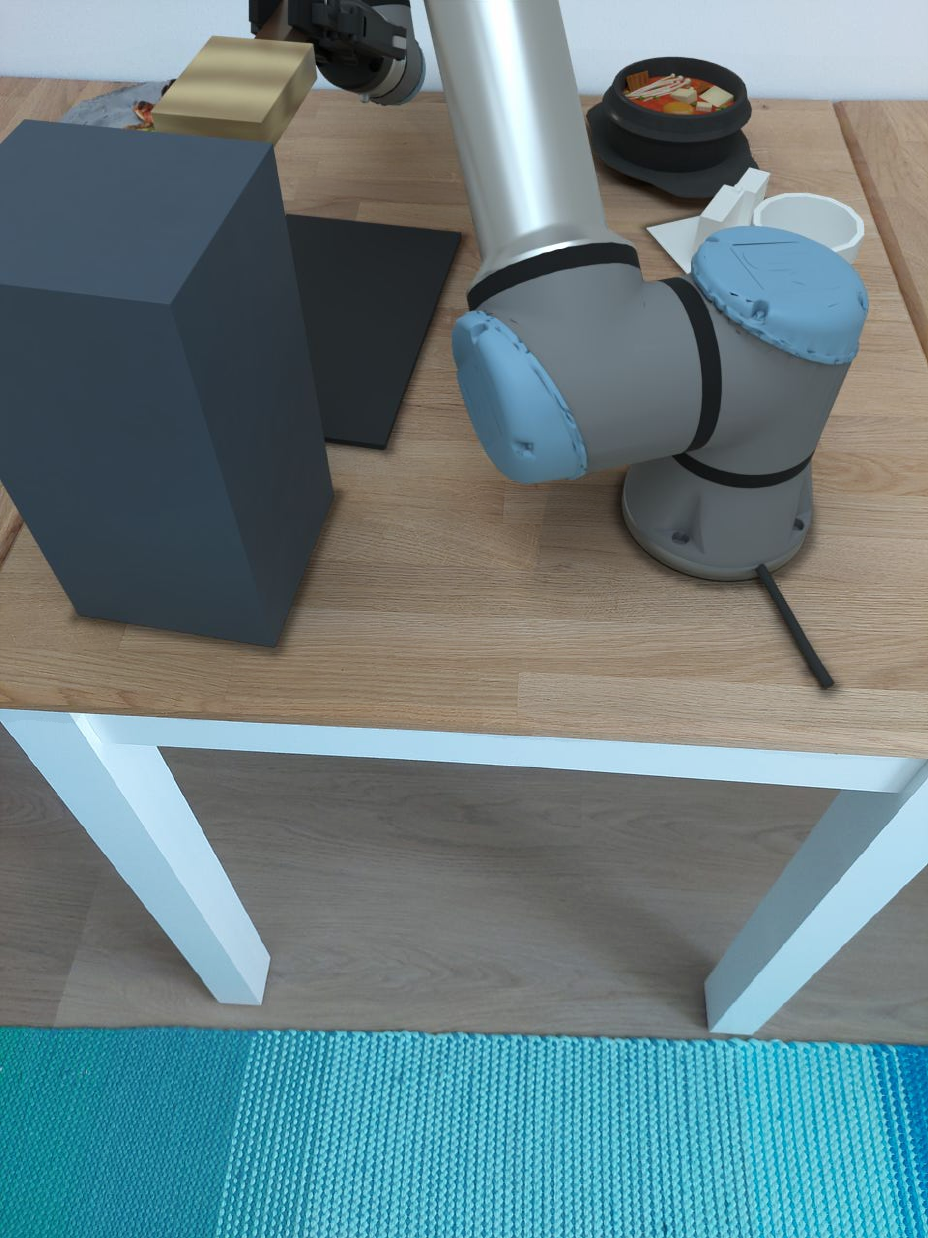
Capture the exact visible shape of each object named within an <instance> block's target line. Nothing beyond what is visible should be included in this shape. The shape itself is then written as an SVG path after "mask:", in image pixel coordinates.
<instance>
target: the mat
mask: <svg viewBox="0 0 928 1238" xmlns="http://www.w3.org/2000/svg"><path fill="white" fill-rule="evenodd" d="M285 216H286V222H287V227H288V233H289V239H290V245H291V250H292V256H293V262H294V268H295V273H296V279H297V285H298V291H299V296H300V302H301V308H302V314H303V319H304V325H305V331H306V337H307V342H308V348H309V354H310V360H311V365H312V371H313V377H314V383H315V388H316V394H317V400H318V406H319V411H320V417H321V423H322V429H323V435H324V440H325V443H333V444H338V445H339V444H340V445H345V446H346V445H347V446H353V447H360V448H361V447H362V448H369V449H376V450H383V451H384V450H385V451H386V449H387V448H386V447H387V445H388V442H389V439H390V436H391V434H392V430H393V429H394V426H395V423H396V420H397V418H398V414H399V412H400V409H401V406H402V404H403V400H404V398H405V395H406V393H407V390H408V388H409V385H410V384H409V383H410V381H411V379H412V375H413V373H414V370H415V367H416V365H417V362H418V359H419V357H420V354H421V351H422V348H423V346H424V342H425V339H426V336H427V334H428V331H429V328H430V325H431V322H432V320H433V317H434V314H435V311H436V310H437V306H438V304H439V300H440V298H441V295H442V292H443V289H444V287H445V285H446V282H447V279H448V275H449V272H450V270H451V267H452V265H453V262H454V259H455V256H456V254H457V250H458V248H459V245H460V243H461V239H462V231H454V230H453V231H452V230H444V229H434V228H425V227H417V226H416V227H415V226H407V225H406V226H405V225H397V224H388V223H387V224H386V223H379V222H370V221H369V222H368V221H360V220H351V219H350V220H349V219H342V218H341V219H340V218H330V217H324V216H323V217H322V216H321V217H320V216H312V215H302V214H294V213H293V214H292V213H285Z"/></svg>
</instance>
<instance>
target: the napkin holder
mask: <svg viewBox="0 0 928 1238" xmlns="http://www.w3.org/2000/svg"><path fill="white" fill-rule="evenodd" d="M770 177H771V172H768V171H764V170H761V169H760V170H757V169H753V168H750V167H749V169H748V170H747V171H746V173H745V174H744V175H743V177H742V178H741V179H740V181H739V182H738V183H737V184H735V186H734V187H731V186H728V185H723V187H722V188H721V189H720V191H719V192H718V193H717V194H716V196H715V197H712V200H711V201H710V202H709V203H708V205H707V206H706V207H705V209H703V211H702V213H701V214H700V215H696V216H693V217H688V218H683V219H679V220H675V221H670V222H666V223H662V224H658V225H654V226H649V227H646V228H645V229H646V230H647V231H648V232H649V234H651V236H653V238H654V239H655V240H656V241H657V242H658V243H659V244H660V246H661V247H662V248H663V249H664V250H665V251H666V252H667V253H668V254H669V255H670V257H671V258H672V259H673V260H674V261H675V263H676V264H677V265H678V266H679V267H680V268H681V269H682V270H683V271H684V273H685V274H686V275H687V274H689V273H690V272H691V260H692V257H693V255H694V254H695V253H696V252H697V250H698V248H699V246H700V245H701V244H702V243H704V242H705V240H706V239H707V237H708V236H710V235H711V234H713V233H715V232H718V231H720V230H723V229H726V228H730V227H737V226H750V223H751V219H752V215H753V211H754V209H755V208H756V207H757V206H758V205H759V204H760V203H761V202H763V201H764V200H765V195H766V192H767V188H768V185H769V181H770Z"/></svg>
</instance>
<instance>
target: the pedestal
mask: <svg viewBox="0 0 928 1238" xmlns="http://www.w3.org/2000/svg"><path fill="white" fill-rule="evenodd" d="M276 159H277V158H276V154H275V147H273V143H267V142H257V141H246V140H236V139H226V138H215V137H205V136H195V135H184V134H174V133H164V132H153V131H143V130H132V129H122V128H112V127H101V126H91V125H81V124H70V123H60V122H59V121H48V120H37V119H29V118H25V119H24V118H23V120H22V121H20V123H19V124H18V125H17V126H16V127H15V128H14V129H13V130H12V131H11V132H10V133H9V134H8V135H7V136H6V137H5V138H4V139H3V140H2V141H1V142H0V483H1V485H2V486H3V487H4V490H5V491H6V493H7V494H8V496H9V498H10V500H11V501H12V503H13V505H14V507H15V508H16V510H17V512H18V514H19V515H20V517H21V519H22V521H23V522H24V524H25V525H26V527H27V529H28V531H29V532H30V534H31V536H32V537H33V540H34V541H35V543H36V545H37V546H38V548H39V550H40V552H41V553H42V555H43V557H44V558H45V560H46V562H47V564H48V565H49V567H50V569H51V571H52V572H53V574H54V576H55V578H56V579H57V581H58V583H59V585H60V586H61V588H62V589H63V591H64V593H65V594H66V597H67V598H68V600H69V602H70V603H71V605H72V607H73V608H74V610H75V612H76V614H77V615H78V616H82V617H90V618H96V619H101V620H108V621H113V622H119V623H125V624H130V625H138V626H143V627H149V628H155V629H161V630H167V631H174V632H179V633H186V634H190V635H191V634H192V635H197V636H204V637H208V638H215V639H221V640H226V641H234V642H239V643H245V644H250V645H256V646H257V645H258V646H263V647H269V648H276V646H277V644H278V641H279V638H280V637H281V633H282V630H283V628H284V626H285V624H286V621H287V619H288V616H289V613H290V610H291V607H292V605H293V603H294V600H295V597H296V595H297V593H298V590H299V588H300V585H301V583H302V579H303V577H304V574H305V572H306V569H307V566H308V564H309V562H310V560H311V557H312V553H313V551H314V549H315V546H316V543H317V541H318V540H319V539H318V538H319V535H320V534H321V530H322V528H323V525H324V523H325V520H326V518H327V515H328V513H329V510H330V507H331V505H332V502H333V500H334V499H335V491H334V486H333V482H332V476H331V475H332V474H331V470H330V469H331V468H330V464H329V457H328V453H327V447H326V442H325V440H324V435H323V429H322V423H321V417H320V411H319V406H318V400H317V394H316V388H315V383H314V377H313V371H312V365H311V360H310V354H309V348H308V342H307V337H306V331H305V325H304V319H303V314H302V308H301V302H300V296H299V291H298V285H297V279H296V273H295V268H294V262H293V256H292V250H291V245H290V239H289V233H288V227H287V222H286V210H285V204H284V200H283V199H284V198H283V194H282V188H281V187H282V186H281V182H280V176H279V171H278V165H277V160H276Z"/></svg>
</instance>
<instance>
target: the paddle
mask: <svg viewBox="0 0 928 1238" xmlns="http://www.w3.org/2000/svg"><path fill="white" fill-rule="evenodd" d="M324 1H325V4H326V1H327V0H324ZM308 37H309V35H307V34H305V33H303V32H301V31H299V30H297V29H295V28H293V27H291V26H289V25H288V0H282V1H281V3H280V4H279V5H278V7H277V8H276V10H275V11H274V12H273V14H272V15H271V16H270V18H269V19H268V20H267V22H266V23H265V24H264V26H263V27H262V28H261V30H260V31H259V32H258V34H257V35H256V36H255V35H254V38H250V37H238V36H237V37H235V36H224V35H211V36H210V37H209V38H208V40H207V41H206V42H205V44H204V45H203V46H201V48H200V50H199V51H197V53H196V55H194V57H193V58H192V60H191V61H190V62H189V63H188V65H187V66H186V67H185V69H183V71H182V72H181V73H180V75H178V77H177V78H176V79H177V80H176V81H175V82H174V83H173V84H172V86H171V87H170V88H169V89H168V91H167V92H166V93H165V94H164V96H163V97H162V98H161V99H160V101H159V102H158V103H157V104H156V105H155V107H154V108H153V109H152V110H151V116H152V120H153V123H154V127H155V131H156V132H164V133H174V134H184V135H195V136H205V137H215V138H226V139H236V140H246V141H257V142H267V143H273V147H274V148H275V147H276V146H277V144H278V142H279V141H280V139H281V138H282V136H283V134H284V133H285V131H286V130H287V128H288V127H289V125H290V123H291V122H292V120H293V119H294V117H295V115H296V114H297V113H298V111H299V109H300V108H301V106H302V104H303V103H304V101H305V99H306V98H307V97H308V94H309V93H310V91H311V90H312V88H313V86H314V85H315V83H316V82H317V80H318V73H317V72H318V71H317V70H318V69H317V66H316V62H315V55H314V47H313V44H311V43H305V42H306V40H307V39H308Z"/></svg>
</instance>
